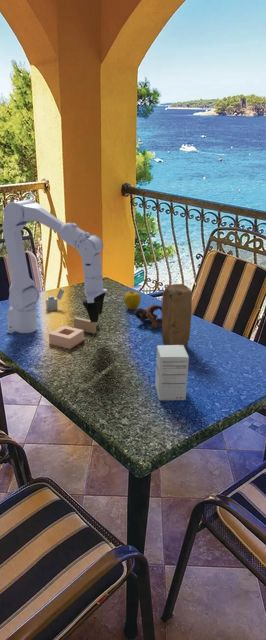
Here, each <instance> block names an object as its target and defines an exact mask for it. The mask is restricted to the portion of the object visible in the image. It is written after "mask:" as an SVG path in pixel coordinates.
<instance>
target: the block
mask: <svg viewBox="0 0 266 640" xmlns="http://www.w3.org/2000/svg"><path fill="white" fill-rule="evenodd" d="M192 297H193V296H192V290H191V288H189V287H188V286H187V285H185V284H182V283H173V284H168V285H167V286H166V287H165V289H164V290H163V293H162V299H161V300H162V301H161V307H162V311H161V318H162V325H161V339H162V342H163V345H184V347H185V348H186V347H187V346H188V344H189V341H190V337H191V324H192V311H193V308H192V306H193V305H192V303H193V300H192V299H193V298H192Z"/></svg>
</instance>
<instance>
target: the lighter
mask: <svg viewBox="0 0 266 640" xmlns="http://www.w3.org/2000/svg"><path fill="white" fill-rule="evenodd" d="M64 293H65V289H64V288H60V289H59V291H58V293H57V295H56V296H55V295H51V296H48V298H46V299H45V305H46V306H45V309H46V311H54V310H55V311H56V309H57V310H58V300H61V299H62V298H63V296H64Z"/></svg>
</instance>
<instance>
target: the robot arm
mask: <svg viewBox="0 0 266 640" xmlns="http://www.w3.org/2000/svg"><path fill="white" fill-rule="evenodd" d="M2 214H3V220H2V224H1V228H2V233H3V237H4V243H5V249H6V252H7V258H8V263H9V264H8V265H9V267H10V268H9V269H10V273H11V278H12V283H10V286H9V288H8V292H9V296H8V303H9V305H10V306H9V308H8V309H7V312H6V320H7V329H8V330H6V333H9V334H13V333H15V332H17V333H20V334H31V333H34V332H36V331H37V330H38V325H37V324H38V323H37V321H38V320H37V302H38V301H39V299H40V292H39V290H38V288H37V286H36V282H35V281H34V280H33V279H32V278H31V277H30V273H29V267H28V266H29V265H28V262H27V258H26V257H27V256H26V252H25V246H24V242H23V240H24V239H23V234H22V230H23V229H24V228H25V226H26V225H27V224H28V223H29V222H38V223H40V224H42V225H44V226H45V227H47V228H49V229H50V230H53V231H54V232H55V233H58V236H59V238H60V239H61V240H62V241H63V242H65V243H66V244H68V245H69V246H71V247H73V248H74V249H76V250H77V253H78V255H79V256H80V257H81V262H82V272H83V281H84V282H83V284H84V295H85V296H86V299H84V300H82V305H83V307H84V308H85V310H86V312H87V315H88V317H89V320H90V321H91V322H99V318H100V317H99V316H100V315H102V314H103V309H104V308H103V306H104V300H105V297H106V294H107V292H108V289H107V288H104V281H103V269H102V268H103V267H102V254H101V252H102V251H103V248H104V242H103V241H102V239H101V238H100V237H99V236H98V235H97V234H92V235H90V234H91V233H90V232H88V231H84V230H83V229H81V228H80V227H78V224H77V223H75V222H67V223H65V222H63V221H61V220H60V218H57V217H56V216H55V215H53V214H52V213H51V212H49V211H48V210H46V209H45V208H43V207H42V205H41V204H40V203H38V202H35V201H34V200H33V199H30V198H27V199H23V200H18V201H10V202H8V203H7V204H6V205H5V207H4V208H3V209H2Z"/></svg>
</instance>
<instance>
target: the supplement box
mask: <svg viewBox="0 0 266 640" xmlns="http://www.w3.org/2000/svg"><path fill="white" fill-rule="evenodd" d="M189 362H190V357H189V354H188V352H187V350H186V347H184V345H165V344H160V345H157V346H156V363H155V383H154V388H155V390H156V394H157V399H158V401H186V397H187V384H188V373H189Z"/></svg>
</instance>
